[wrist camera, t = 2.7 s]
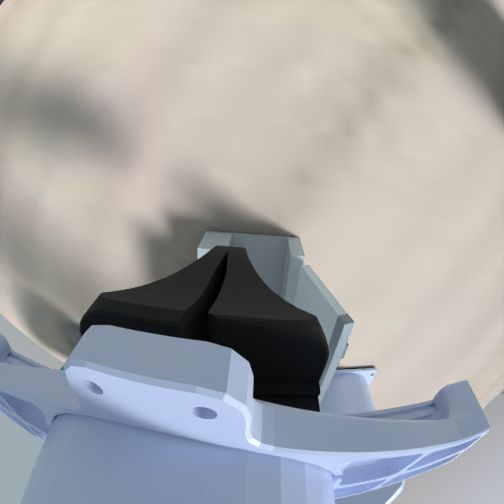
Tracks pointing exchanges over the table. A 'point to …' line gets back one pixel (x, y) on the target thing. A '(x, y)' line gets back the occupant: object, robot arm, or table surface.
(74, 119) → the table surface
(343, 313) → the cover
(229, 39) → the table surface
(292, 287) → the grey slotted block
